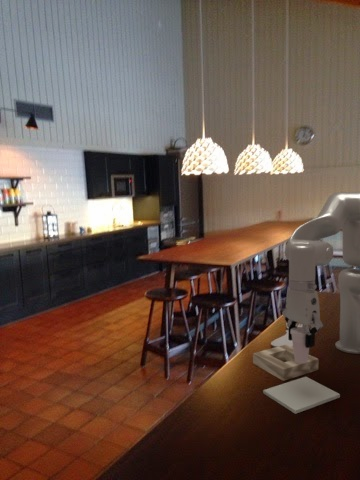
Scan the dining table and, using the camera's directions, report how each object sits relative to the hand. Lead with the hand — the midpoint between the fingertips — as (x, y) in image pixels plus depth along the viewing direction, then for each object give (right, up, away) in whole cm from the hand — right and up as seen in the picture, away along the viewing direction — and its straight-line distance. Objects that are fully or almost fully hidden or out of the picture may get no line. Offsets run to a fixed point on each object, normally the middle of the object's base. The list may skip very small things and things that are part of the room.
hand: (301, 342), depth 126 cm
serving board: (+1, -17, +2) cm, 17 cm away
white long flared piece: (+9, -11, +50) cm, 52 cm away
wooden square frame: (+1, -14, +23) cm, 27 cm away
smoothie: (0, -6, +1) cm, 6 cm away
